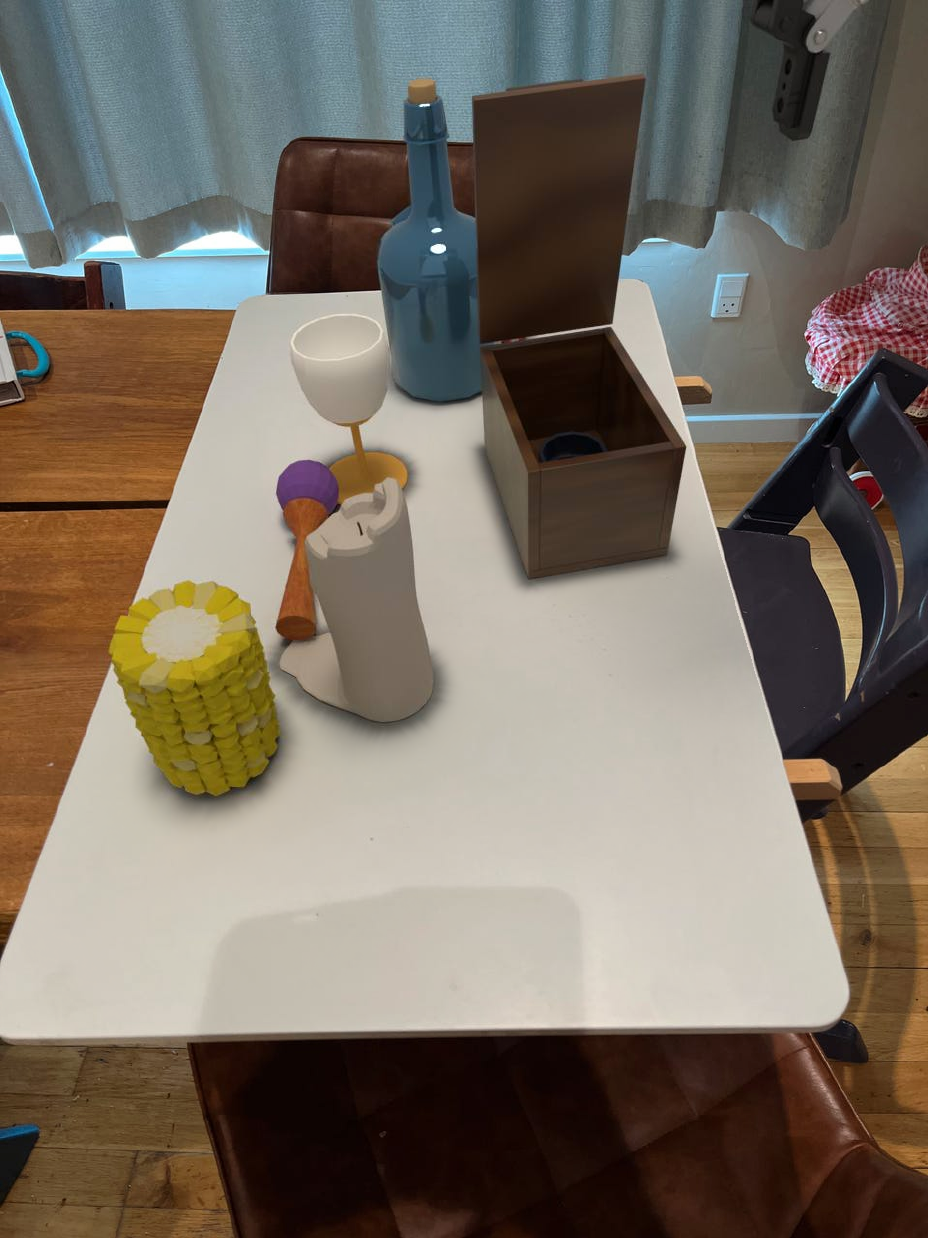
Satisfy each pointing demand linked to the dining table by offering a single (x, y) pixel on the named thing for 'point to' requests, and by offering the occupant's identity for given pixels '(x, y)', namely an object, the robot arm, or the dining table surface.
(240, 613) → the food
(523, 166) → the lid
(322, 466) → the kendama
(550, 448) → the bowl
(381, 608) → the candle
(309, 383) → the cup
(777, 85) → the robot arm
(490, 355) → the chest
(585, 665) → the dining table surface
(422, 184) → the wine bottle
